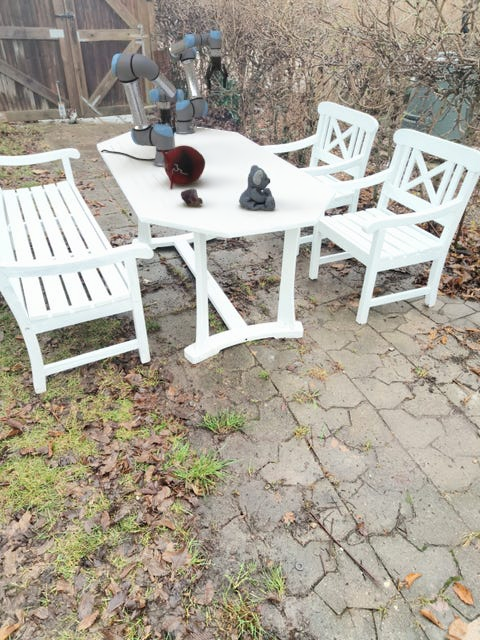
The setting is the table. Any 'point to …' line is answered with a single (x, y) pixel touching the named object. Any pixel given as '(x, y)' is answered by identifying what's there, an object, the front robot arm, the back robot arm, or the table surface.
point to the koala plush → (257, 191)
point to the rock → (191, 197)
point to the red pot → (183, 165)
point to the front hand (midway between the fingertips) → (168, 143)
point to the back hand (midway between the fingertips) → (217, 89)
